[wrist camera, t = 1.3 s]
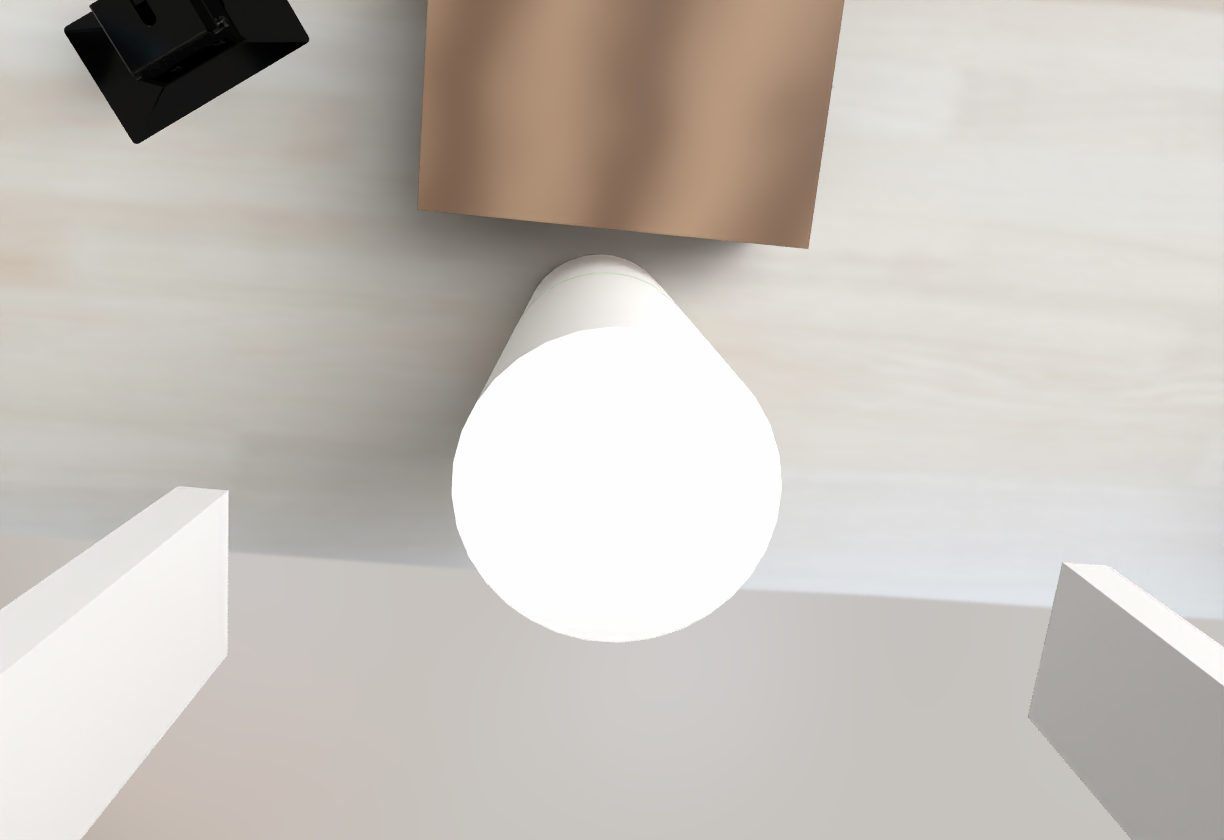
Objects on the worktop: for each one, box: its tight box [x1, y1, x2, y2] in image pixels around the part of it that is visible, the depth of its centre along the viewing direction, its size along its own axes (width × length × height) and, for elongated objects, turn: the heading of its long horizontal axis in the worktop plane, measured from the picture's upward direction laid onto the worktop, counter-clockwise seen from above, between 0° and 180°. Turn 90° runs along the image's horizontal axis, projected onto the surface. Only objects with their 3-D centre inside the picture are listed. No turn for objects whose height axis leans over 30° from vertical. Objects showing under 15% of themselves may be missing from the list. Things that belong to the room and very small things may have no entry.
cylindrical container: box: [452, 254, 782, 642], centre depth 32 cm, size 7×7×25 cm
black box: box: [64, 0, 309, 144], centre depth 39 cm, size 12×7×5 cm, turn 118°
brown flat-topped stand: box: [417, 0, 844, 249], centre depth 38 cm, size 15×12×8 cm
